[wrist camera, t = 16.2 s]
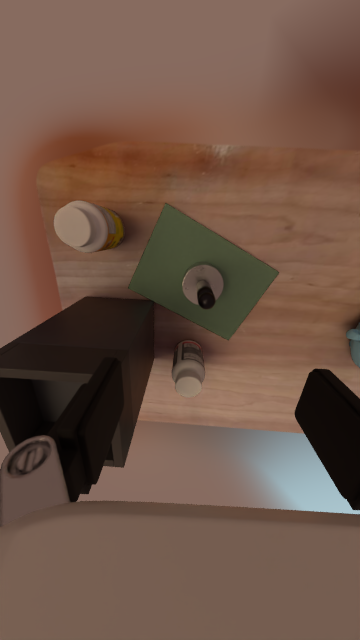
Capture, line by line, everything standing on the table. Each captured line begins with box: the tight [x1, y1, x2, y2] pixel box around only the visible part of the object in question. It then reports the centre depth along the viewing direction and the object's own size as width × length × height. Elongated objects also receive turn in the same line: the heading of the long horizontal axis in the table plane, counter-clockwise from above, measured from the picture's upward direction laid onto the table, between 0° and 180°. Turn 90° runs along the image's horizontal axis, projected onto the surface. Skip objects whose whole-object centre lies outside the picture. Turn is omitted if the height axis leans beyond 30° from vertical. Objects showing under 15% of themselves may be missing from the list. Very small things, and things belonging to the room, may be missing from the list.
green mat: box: [128, 204, 279, 340], centre depth 33 cm, size 20×14×1 cm
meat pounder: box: [182, 262, 224, 310], centre depth 27 cm, size 6×6×12 cm
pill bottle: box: [172, 340, 205, 397], centre depth 34 cm, size 5×5×10 cm
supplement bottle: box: [54, 201, 125, 253], centre depth 26 cm, size 6×6×10 cm
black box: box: [0, 297, 154, 467], centre depth 28 cm, size 12×12×20 cm
